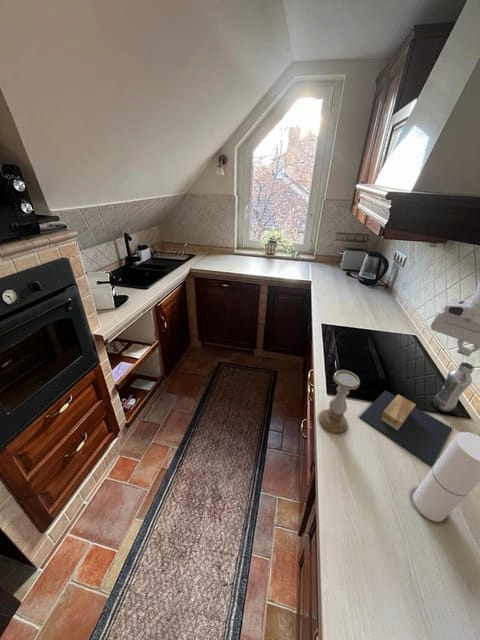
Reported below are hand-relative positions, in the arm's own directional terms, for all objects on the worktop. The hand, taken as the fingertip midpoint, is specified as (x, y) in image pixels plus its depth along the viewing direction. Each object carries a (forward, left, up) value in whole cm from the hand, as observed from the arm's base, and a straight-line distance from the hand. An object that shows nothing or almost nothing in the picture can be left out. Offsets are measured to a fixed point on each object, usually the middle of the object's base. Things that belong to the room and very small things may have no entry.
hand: (463, 353), depth 76 cm
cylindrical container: (-10, +32, -28) cm, 43 cm away
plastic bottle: (-2, -8, -28) cm, 29 cm away
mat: (+4, +10, -28) cm, 30 cm away
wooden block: (+4, +10, -25) cm, 27 cm away
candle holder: (+20, +29, -28) cm, 44 cm away
